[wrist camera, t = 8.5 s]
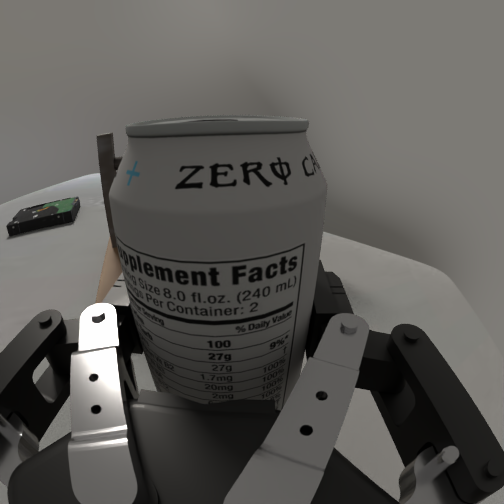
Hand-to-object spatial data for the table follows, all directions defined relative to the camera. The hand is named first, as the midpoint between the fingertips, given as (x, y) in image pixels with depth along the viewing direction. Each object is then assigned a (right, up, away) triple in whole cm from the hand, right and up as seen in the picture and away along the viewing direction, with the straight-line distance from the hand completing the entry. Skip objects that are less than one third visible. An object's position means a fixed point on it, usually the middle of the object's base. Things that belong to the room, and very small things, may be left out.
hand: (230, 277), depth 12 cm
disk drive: (-40, +7, +37) cm, 55 cm away
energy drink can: (0, -9, +2) cm, 9 cm away
